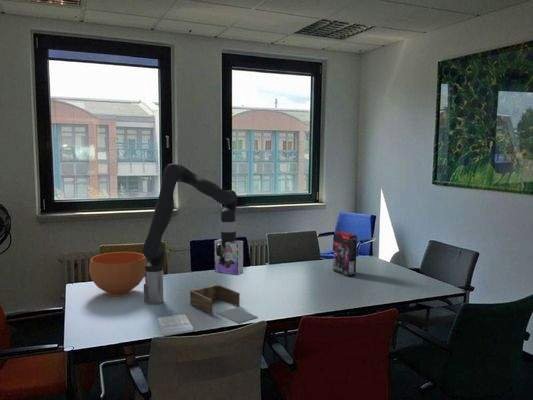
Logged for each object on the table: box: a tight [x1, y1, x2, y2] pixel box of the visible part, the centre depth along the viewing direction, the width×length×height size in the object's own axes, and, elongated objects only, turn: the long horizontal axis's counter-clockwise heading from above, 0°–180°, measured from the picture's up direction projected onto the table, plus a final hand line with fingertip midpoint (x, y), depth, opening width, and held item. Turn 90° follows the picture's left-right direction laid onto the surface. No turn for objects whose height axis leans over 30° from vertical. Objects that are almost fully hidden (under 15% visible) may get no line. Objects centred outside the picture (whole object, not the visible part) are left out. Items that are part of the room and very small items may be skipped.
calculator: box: [157, 314, 194, 336], centre depth 206 cm, size 13×20×2 cm, turn 22°
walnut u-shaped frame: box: [189, 284, 241, 315], centre depth 234 cm, size 18×19×7 cm
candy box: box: [213, 238, 244, 276], centre depth 223 cm, size 14×6×16 cm, turn 63°
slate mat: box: [217, 307, 258, 324], centre depth 220 cm, size 12×17×1 cm
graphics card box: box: [332, 231, 358, 277], centre depth 298 cm, size 17×7×27 cm, turn 28°
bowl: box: [88, 251, 147, 298], centre depth 250 cm, size 30×30×20 cm
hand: (228, 262), depth 224 cm, fingers closed on candy box, 7 cm apart
